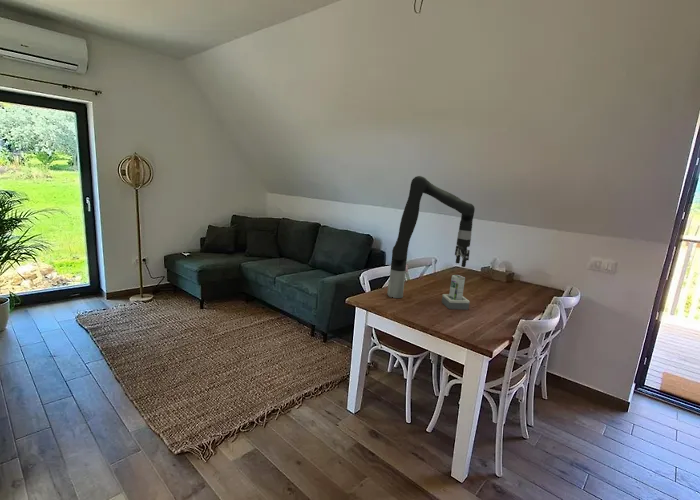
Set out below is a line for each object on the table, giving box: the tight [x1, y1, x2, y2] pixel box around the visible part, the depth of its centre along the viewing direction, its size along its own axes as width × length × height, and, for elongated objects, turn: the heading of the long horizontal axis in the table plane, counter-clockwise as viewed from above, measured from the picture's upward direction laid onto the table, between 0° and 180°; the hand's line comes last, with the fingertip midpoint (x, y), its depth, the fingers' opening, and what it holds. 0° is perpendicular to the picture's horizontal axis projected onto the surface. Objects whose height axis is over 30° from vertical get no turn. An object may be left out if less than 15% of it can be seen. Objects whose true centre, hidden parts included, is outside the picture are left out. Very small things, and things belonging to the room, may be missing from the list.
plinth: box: [441, 293, 470, 311], centre depth 223 cm, size 12×12×5 cm
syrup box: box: [448, 274, 466, 300], centre depth 221 cm, size 6×6×14 cm
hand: (460, 265), depth 218 cm, fingers open, 8 cm apart
